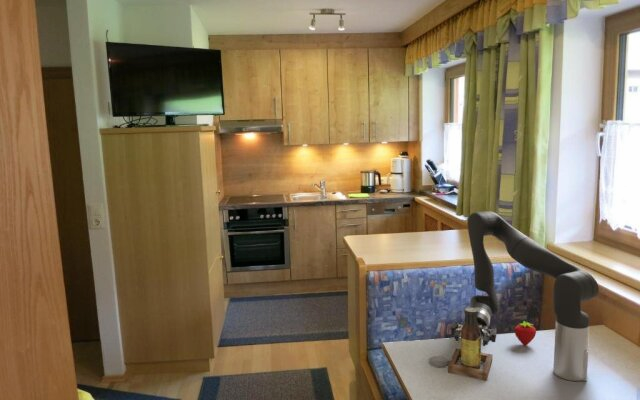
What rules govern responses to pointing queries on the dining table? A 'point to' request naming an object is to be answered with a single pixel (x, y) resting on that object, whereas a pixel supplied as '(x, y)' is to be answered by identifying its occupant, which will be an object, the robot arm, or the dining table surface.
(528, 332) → the strawberry
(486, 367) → the pocket frame
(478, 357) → the sauce bottle
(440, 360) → the coaster
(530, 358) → the dining table surface
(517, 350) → the dining table surface
